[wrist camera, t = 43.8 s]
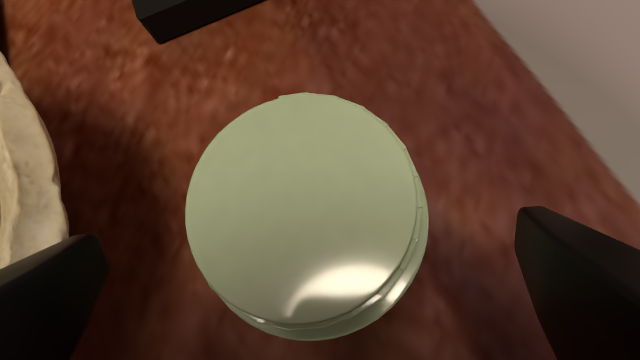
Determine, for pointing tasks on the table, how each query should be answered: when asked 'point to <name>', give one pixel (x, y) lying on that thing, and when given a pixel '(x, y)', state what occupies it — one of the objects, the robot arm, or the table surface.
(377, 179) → the jar
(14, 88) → the bowl
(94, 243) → the robot arm
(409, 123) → the table surface
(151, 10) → the vhs tape
